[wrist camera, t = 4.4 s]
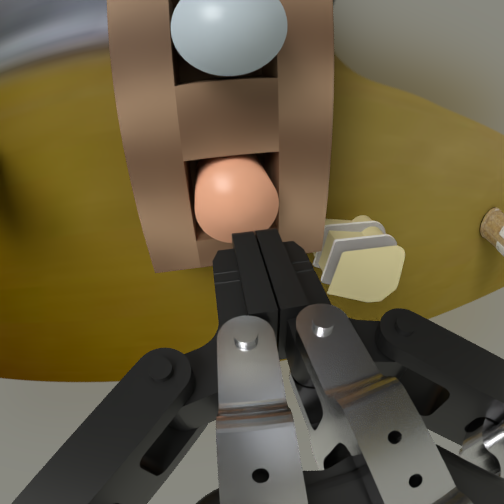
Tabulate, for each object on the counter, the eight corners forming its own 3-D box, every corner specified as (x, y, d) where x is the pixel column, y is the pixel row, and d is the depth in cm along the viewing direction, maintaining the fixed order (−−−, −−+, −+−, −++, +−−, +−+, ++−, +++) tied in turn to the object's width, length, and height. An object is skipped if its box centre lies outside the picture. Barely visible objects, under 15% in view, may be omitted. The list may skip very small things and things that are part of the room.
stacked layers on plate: (283, 275, 27) (299, 319, 23) (304, 187, 22) (331, 223, 18) (371, 273, 30) (395, 310, 25) (401, 198, 24) (436, 230, 20)
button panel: (131, -94, 6) (117, -124, 2) (291, -102, 7) (315, -131, 3) (161, 231, 22) (155, 273, 18) (300, 214, 23) (321, 251, 19)
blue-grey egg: (177, 6, 11) (168, -18, 7) (260, 1, 11) (285, -22, 7) (182, 78, 13) (174, 82, 9) (263, 71, 14) (288, 74, 10)
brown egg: (191, 146, 18) (189, 173, 14) (260, 139, 18) (278, 164, 14) (199, 206, 20) (200, 247, 16) (261, 199, 21) (278, 238, 17)
